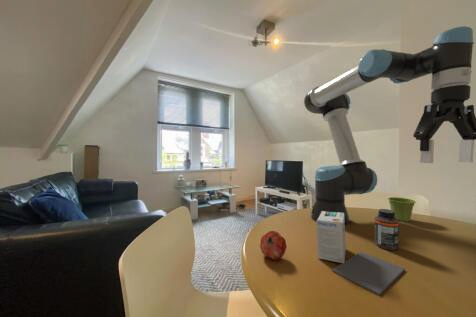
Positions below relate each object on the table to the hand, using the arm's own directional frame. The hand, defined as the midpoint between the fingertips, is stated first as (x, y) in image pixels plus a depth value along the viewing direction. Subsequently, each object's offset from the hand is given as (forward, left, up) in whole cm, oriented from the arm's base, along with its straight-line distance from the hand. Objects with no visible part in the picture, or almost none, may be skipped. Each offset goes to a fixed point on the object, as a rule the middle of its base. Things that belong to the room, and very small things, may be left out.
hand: (446, 162), depth 56 cm
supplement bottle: (-11, -10, -26) cm, 30 cm away
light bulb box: (-18, -28, -26) cm, 42 cm away
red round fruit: (-27, -43, -27) cm, 57 cm away
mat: (-9, -28, -26) cm, 39 cm away
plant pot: (-17, +24, -26) cm, 40 cm away
